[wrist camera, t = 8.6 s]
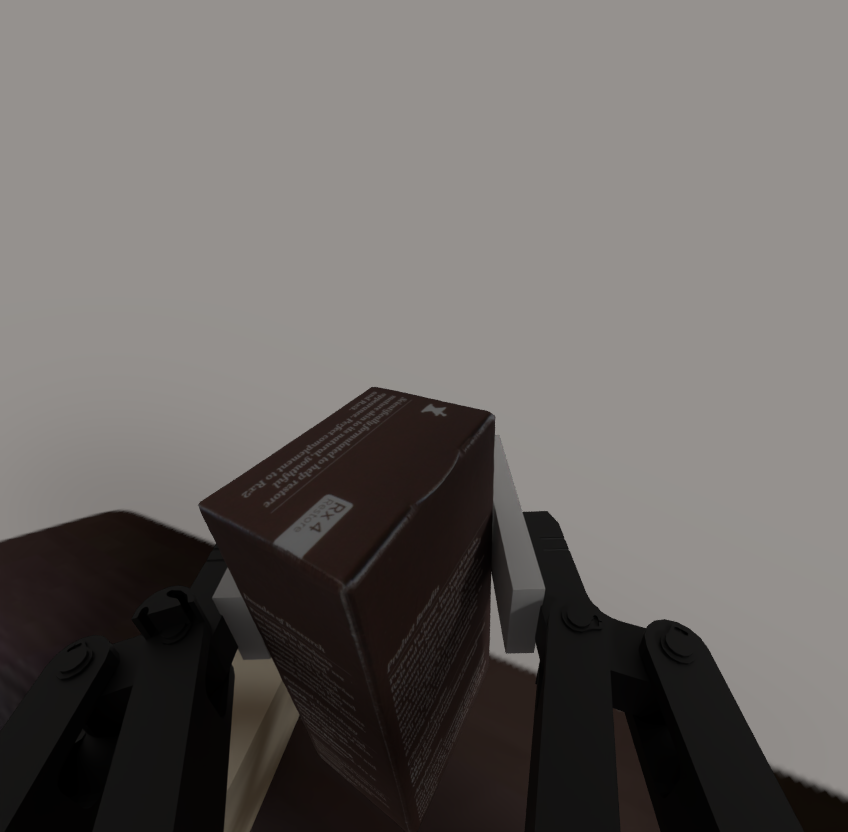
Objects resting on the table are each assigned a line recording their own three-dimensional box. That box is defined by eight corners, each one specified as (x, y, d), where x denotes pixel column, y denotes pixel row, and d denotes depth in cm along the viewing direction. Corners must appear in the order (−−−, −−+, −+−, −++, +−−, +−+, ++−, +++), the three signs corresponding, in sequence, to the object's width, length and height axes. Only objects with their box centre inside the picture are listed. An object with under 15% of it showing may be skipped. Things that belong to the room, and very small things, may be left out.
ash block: (225, 893, 20) (190, 866, 17) (82, 838, 21) (32, 806, 19) (309, 695, 27) (294, 655, 25) (198, 667, 29) (173, 628, 26)
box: (400, 614, 18) (372, 378, 12) (491, 667, 16) (513, 412, 10) (303, 755, 14) (183, 496, 8) (411, 851, 12) (364, 601, 6)
